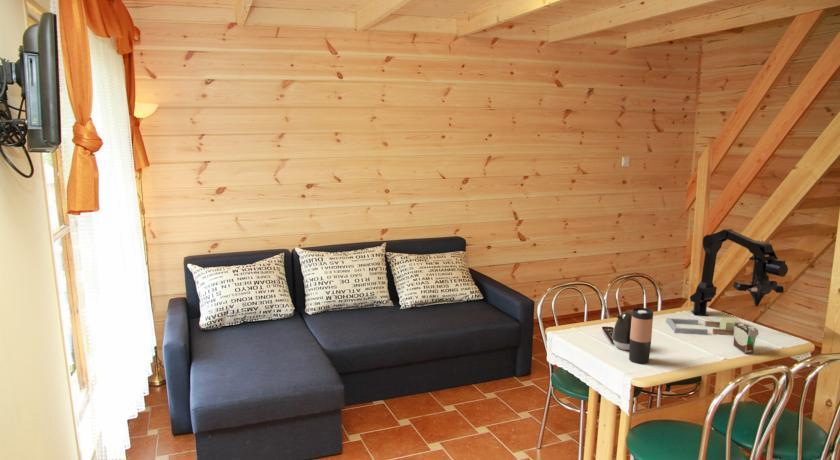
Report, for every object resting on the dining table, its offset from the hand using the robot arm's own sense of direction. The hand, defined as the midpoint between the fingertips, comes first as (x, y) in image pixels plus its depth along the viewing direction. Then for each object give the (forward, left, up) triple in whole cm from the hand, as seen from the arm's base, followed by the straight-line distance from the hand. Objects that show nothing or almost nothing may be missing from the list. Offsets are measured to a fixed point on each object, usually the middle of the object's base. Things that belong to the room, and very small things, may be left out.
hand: (756, 306), depth 259 cm
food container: (+24, -11, -12) cm, 29 cm away
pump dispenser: (+31, -60, -12) cm, 69 cm away
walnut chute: (0, -10, -12) cm, 16 cm away
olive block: (0, -9, -12) cm, 15 cm away
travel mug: (+44, -57, -12) cm, 73 cm away
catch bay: (0, -27, -12) cm, 30 cm away
